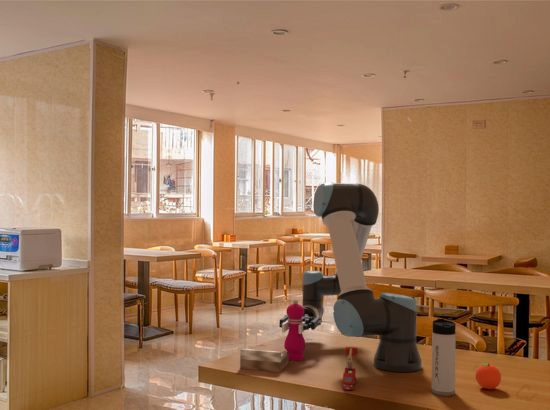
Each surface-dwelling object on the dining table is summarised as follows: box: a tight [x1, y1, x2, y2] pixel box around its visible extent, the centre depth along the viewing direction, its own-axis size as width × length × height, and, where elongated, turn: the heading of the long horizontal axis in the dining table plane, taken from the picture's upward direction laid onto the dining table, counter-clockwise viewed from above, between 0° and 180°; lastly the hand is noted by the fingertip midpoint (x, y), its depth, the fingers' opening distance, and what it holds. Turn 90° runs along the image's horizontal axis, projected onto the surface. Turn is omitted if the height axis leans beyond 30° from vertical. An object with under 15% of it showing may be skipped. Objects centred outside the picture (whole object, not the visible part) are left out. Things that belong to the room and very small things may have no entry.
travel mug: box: [431, 318, 457, 397], centre depth 164 cm, size 6×7×20 cm
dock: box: [239, 347, 290, 373], centre depth 189 cm, size 13×11×6 cm
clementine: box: [473, 363, 502, 390], centre depth 168 cm, size 8×7×7 cm
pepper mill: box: [283, 298, 307, 362], centre depth 199 cm, size 7×7×20 cm
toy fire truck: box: [342, 346, 358, 391], centre depth 171 cm, size 3×14×10 cm, turn 168°
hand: (291, 328), depth 194 cm, fingers closed on pepper mill, 5 cm apart
